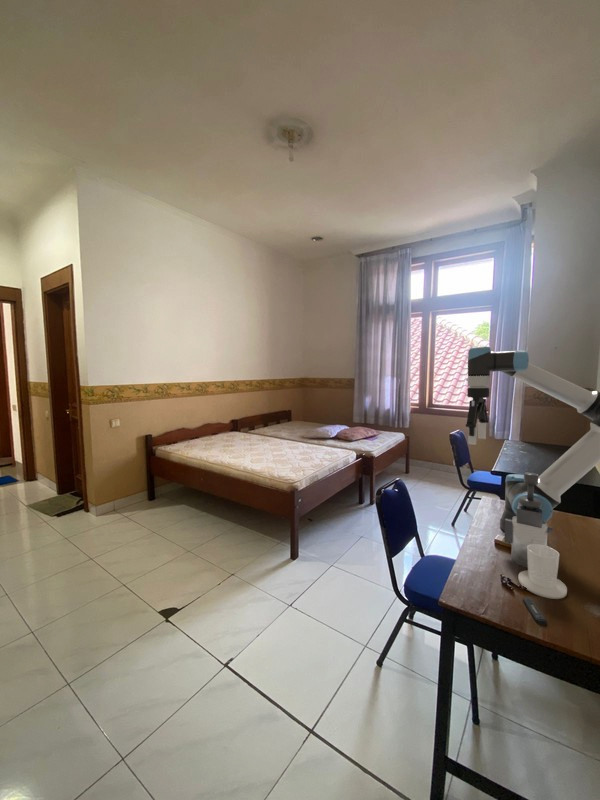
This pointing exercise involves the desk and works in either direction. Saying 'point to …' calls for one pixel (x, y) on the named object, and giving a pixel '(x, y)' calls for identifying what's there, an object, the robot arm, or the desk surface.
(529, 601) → the usb stick
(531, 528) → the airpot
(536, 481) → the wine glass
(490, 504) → the desk surface
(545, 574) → the white cup
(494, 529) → the desk surface
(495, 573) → the desk surface
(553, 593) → the saucer
